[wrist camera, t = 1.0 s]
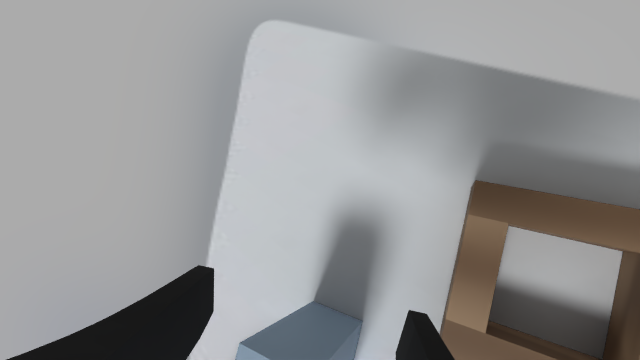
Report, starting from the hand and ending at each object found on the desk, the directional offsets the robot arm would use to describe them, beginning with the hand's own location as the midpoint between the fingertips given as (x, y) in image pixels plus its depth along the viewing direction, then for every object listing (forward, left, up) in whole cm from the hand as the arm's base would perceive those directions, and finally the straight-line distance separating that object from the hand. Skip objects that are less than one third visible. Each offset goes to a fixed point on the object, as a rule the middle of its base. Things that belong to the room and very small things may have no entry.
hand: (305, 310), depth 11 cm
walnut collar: (+2, -10, -12) cm, 16 cm away
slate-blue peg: (-6, +2, -12) cm, 13 cm away
